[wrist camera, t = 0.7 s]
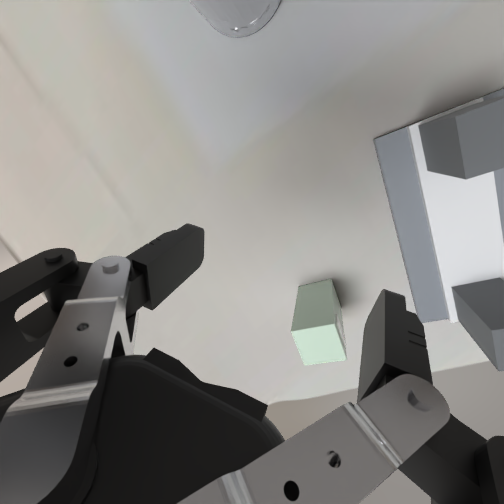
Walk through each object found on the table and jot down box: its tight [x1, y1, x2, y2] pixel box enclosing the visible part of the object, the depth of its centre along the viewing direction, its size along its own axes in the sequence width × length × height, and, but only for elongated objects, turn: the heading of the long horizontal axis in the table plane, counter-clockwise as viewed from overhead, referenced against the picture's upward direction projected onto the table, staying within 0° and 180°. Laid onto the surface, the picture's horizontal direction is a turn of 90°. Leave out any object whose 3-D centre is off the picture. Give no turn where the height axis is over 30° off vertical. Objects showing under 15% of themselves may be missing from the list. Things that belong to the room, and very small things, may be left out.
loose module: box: [291, 279, 347, 365], centre depth 32 cm, size 4×5×10 cm
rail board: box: [373, 88, 504, 371], centre depth 25 cm, size 23×12×10 cm, turn 22°
